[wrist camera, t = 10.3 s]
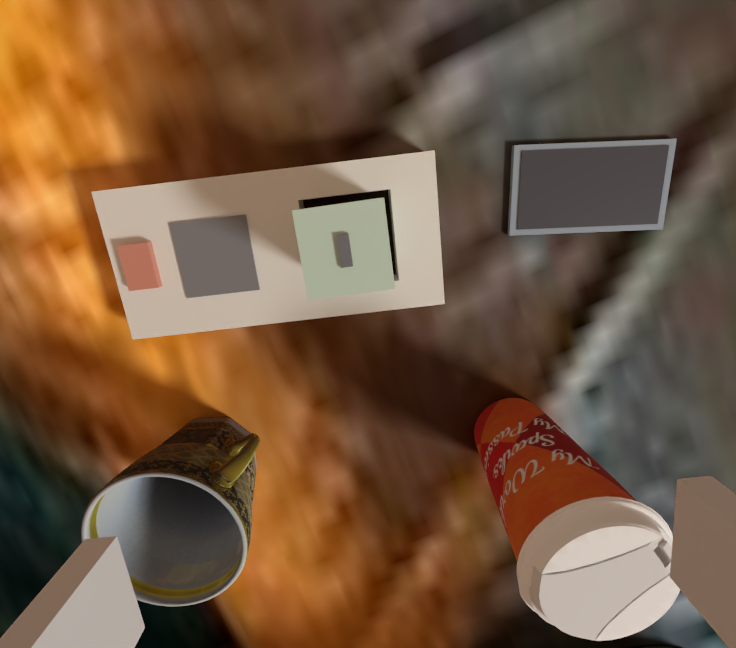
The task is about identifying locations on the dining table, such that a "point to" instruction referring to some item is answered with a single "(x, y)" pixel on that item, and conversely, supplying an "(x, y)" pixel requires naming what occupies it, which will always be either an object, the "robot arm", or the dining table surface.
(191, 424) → the ceramic cup
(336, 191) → the power strip
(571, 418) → the dining table surface
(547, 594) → the coffee cup
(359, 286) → the block
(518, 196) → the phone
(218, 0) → the dining table surface
